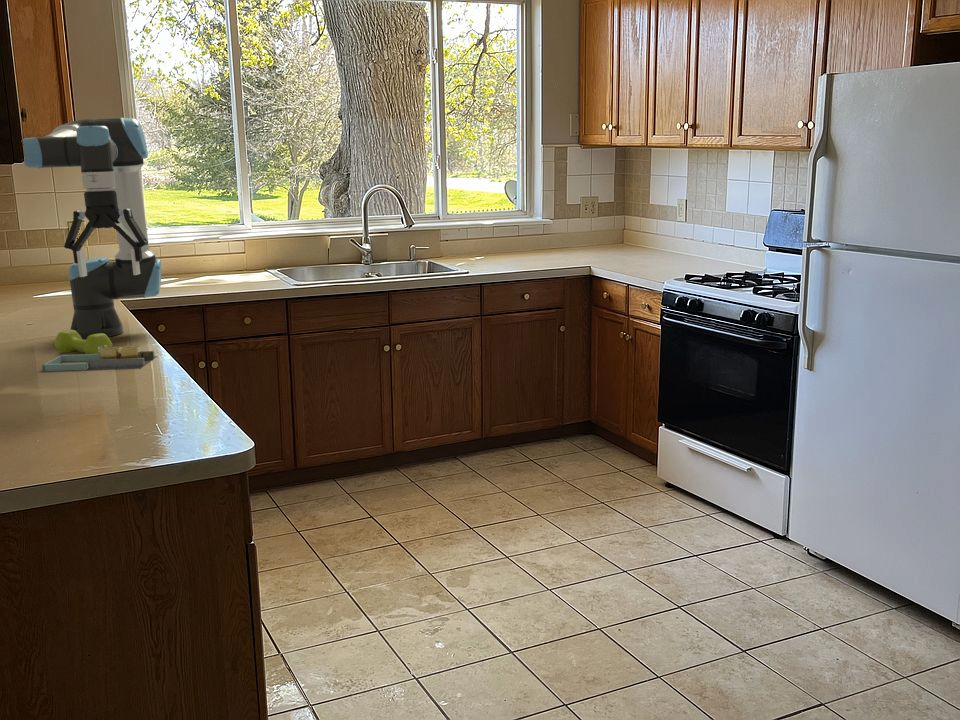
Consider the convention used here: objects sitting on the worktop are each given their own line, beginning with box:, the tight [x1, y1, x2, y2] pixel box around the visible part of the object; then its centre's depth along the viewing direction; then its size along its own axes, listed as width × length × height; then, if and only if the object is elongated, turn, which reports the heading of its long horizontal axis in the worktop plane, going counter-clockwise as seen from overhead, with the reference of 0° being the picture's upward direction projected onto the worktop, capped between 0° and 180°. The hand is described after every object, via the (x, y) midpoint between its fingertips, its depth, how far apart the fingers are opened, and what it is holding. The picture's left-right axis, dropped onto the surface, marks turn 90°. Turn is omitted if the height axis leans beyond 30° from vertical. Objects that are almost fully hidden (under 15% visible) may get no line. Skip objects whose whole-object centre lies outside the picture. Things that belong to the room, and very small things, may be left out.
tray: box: [41, 353, 100, 372], centre depth 239 cm, size 11×11×3 cm
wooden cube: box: [121, 345, 141, 359], centre depth 239 cm, size 4×4×4 cm
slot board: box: [84, 350, 159, 372], centre depth 239 cm, size 14×14×4 cm
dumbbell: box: [53, 329, 113, 354], centre depth 254 cm, size 16×8×7 cm, turn 59°
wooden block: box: [100, 346, 122, 359], centre depth 239 cm, size 4×4×4 cm
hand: (110, 275), depth 233 cm, fingers open, 13 cm apart
